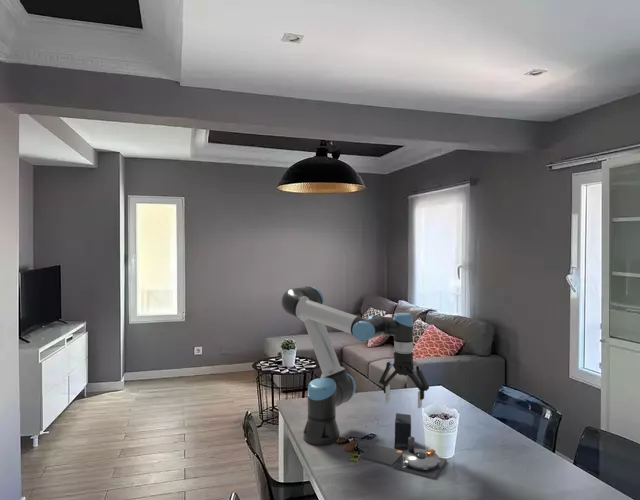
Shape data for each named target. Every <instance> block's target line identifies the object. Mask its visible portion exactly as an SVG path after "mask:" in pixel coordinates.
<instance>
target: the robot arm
mask: <svg viewBox="0 0 640 500" xmlns="http://www.w3.org/2000/svg"><path fill="white" fill-rule="evenodd" d="M324 301H325V300H324V295H323V293H322V292H321V290H319V288H317V287H314V286H308V285H307V286H303V287H302V286H301V287H295V288H290V289H287V290H286V291H285V292H284V294H282V297H281V307H282V309H283V310H284V312H285V313H287V314H288V315H291V316H293V317H296V318H298V319H299V320H300V321H302V322H303V323H304V326H305V329H306V332H307V333H308V334H307V335H308V337H309V339H310V340H309V341H310V342H311V345H312V348H313V350H314V354H315V356H316V359H317V362H318V365H319V368H320V370H321V375H320V378H318V377H317V378H315V379H312V380H311V381H310V382H309V383H308V384H307V385H308V386H307V393H306V394H307V420H306V422H305V426H304V429H303V432H302V437H303V438H302V439H303V441H305V442H307V443H308V444H311V445H317V446H326V445H332V444H335V443H337V442H338V441H339V440H340V439H339V438H341V437H340V434H341V433H340V430H339V425H338V423H337V420H336V417H337V416H336V412H337V411H336V409H337V407H339V406H341V405H342V404H344V403H348V402H349V400H351V399H352V398H353V397H354V396H355V394H356V389H357V386H356V382H355V379H354V378H353V376H352V375H350V374H349V373H348V372H347V370H346V368H345V367H343V366H341V365H340V364H341V363H340V362H339V359H338V355H337V354H336V351H335V349H334V348H335V347H334V346H333V345H334V344H333V342H332V340H331V337H330V334H329V332H328V328H327V326H328V327H330V328H333V329H335V330H339V331H341V332H344V333H346V334H350V335H352V336H353V337H354V338H355V339H356V340H357V341H359V342H366V341H367V342H368V341H370V340H371V339H374V338H378V337H380V336H391V337H393V343H394V345H393V346H394V347H393V349H394V350H393V351H394V352H393V362H392V361H391V360H389V361H387V362H386V366H385V369H384V371H383V373H382V375H381V377H380V378H379V381H378V383H379V384H380V385H382V386H383V394H385V403H389V402H390V400H391V396H390V395H391V389H390V388H391V385H390V384H389V383H390V382H391V381H392V380H393V379H394V378H395V377H396V376H397V375H399V376H405V377H406V376H408V377H409V378H410V379H411V381H412V382H413V383H414V384H415V386H416V388H417V389H418V391H417V409H421V408H422V407H423V400H424V399H425V391H426V392H427V391H428V390H429V389H430V386H429V384H428V382H427V380H426V378H425V376H424V373H423V371H422V366H421V364H419V365H414V352H413V351H414V318H413V315H412V313H409V312H395V313H394V314H393V317H390V316H381V315H380V316H379V315H369V316H368V317H367V318H363V317H360V316H357V315H355V314H352V313H348V312H345V311H343V310H340V309H337V308H334V307H332V306H331V307H330V306H328V305H325V304H324ZM392 368H393V369H394V370H393V372H392V373H391V375H390V376H388V374H389V372H390V370H391V369H392ZM413 370H414V371H415V372H416V374H415V372H414V371H413ZM387 376H388V378H387ZM386 378H387V379H386ZM338 439H339V440H338ZM337 440H338V441H337ZM336 441H337V442H336Z"/></svg>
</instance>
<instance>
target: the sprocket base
mask: <svg viewBox="0 0 640 500" xmlns="http://www.w3.org/2000/svg"><path fill="white" fill-rule="evenodd" d="M439 460H440V461H441V465H440V466H438V467H436V468H434V469H431V470H419V469H414V468H411V467H409V466H406V465H405V464H404V462H403V457H400V458H399V459H398V461H397V462H396V463H395V464H394V465H393V469H394V470H395V469H396V470H399V471H403V472H407V473H411V474H414V475H418V476H421V477H424V478H430V479H433V480H436V479H437V477H438V475H439V474H440V473H441V472H442V470H443V468H444V467H445V465H446V464H447V463H448V459H447V458H444V457H440V456H439Z"/></svg>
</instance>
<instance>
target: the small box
mask: <svg viewBox="0 0 640 500" xmlns="http://www.w3.org/2000/svg"><path fill="white" fill-rule="evenodd" d="M394 419H395V420H394V446H393V449H398V450H408V437H412V415H411V414H404V413H397V412H396V413H395V418H394Z"/></svg>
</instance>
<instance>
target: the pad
mask: <svg viewBox="0 0 640 500" xmlns="http://www.w3.org/2000/svg"><path fill="white" fill-rule="evenodd" d="M405 451H406V450H402V449H398V448H394V447H388V446H383V445H382V444H381V445H379V444H375V443H373V444H372V445H371V446H369V447H368V448H367V449H366V450H364V452H363V453H362V454H361V455H359V457H360V458H359V459H363V460H366V461H370V462H372V463H373V462H375V463H378V464H382V465H385V466H389V467H394V465H395V463H396V462H397V461H398V460H399V459H400V458H401V454H402V452H405Z"/></svg>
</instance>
